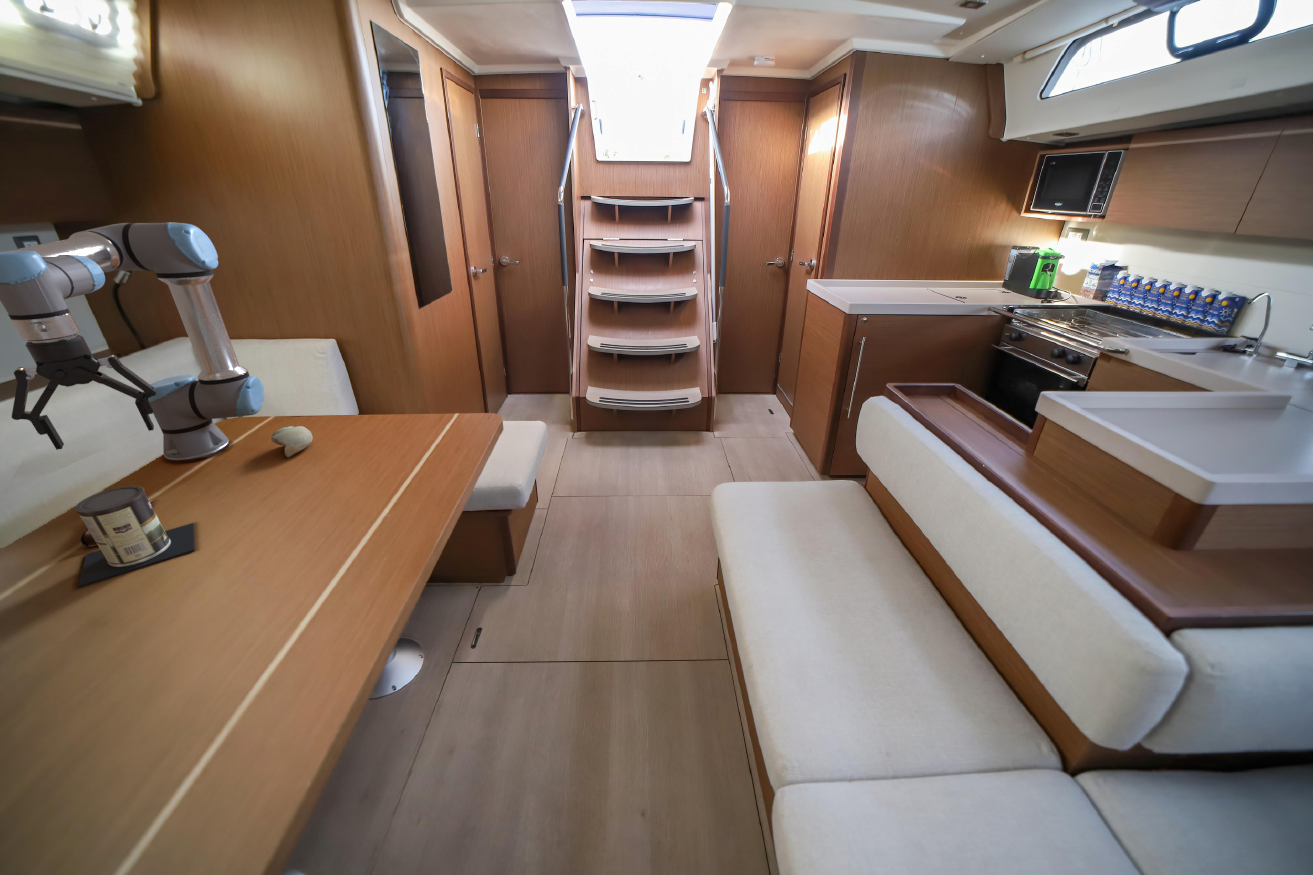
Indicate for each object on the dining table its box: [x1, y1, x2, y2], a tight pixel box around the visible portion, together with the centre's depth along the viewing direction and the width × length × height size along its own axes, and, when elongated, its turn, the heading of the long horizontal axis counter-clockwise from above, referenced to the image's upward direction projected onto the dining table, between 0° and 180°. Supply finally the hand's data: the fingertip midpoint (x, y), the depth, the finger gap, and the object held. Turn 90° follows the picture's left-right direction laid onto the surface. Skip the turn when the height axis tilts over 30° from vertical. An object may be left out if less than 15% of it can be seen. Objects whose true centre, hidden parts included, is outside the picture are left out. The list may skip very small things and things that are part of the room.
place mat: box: [77, 522, 196, 588], centre depth 110 cm, size 13×18×1 cm
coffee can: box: [74, 485, 171, 567], centre depth 107 cm, size 10×10×14 cm
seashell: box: [271, 425, 314, 458], centre depth 154 cm, size 13×8×10 cm
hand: (107, 437), depth 105 cm, fingers open, 13 cm apart
